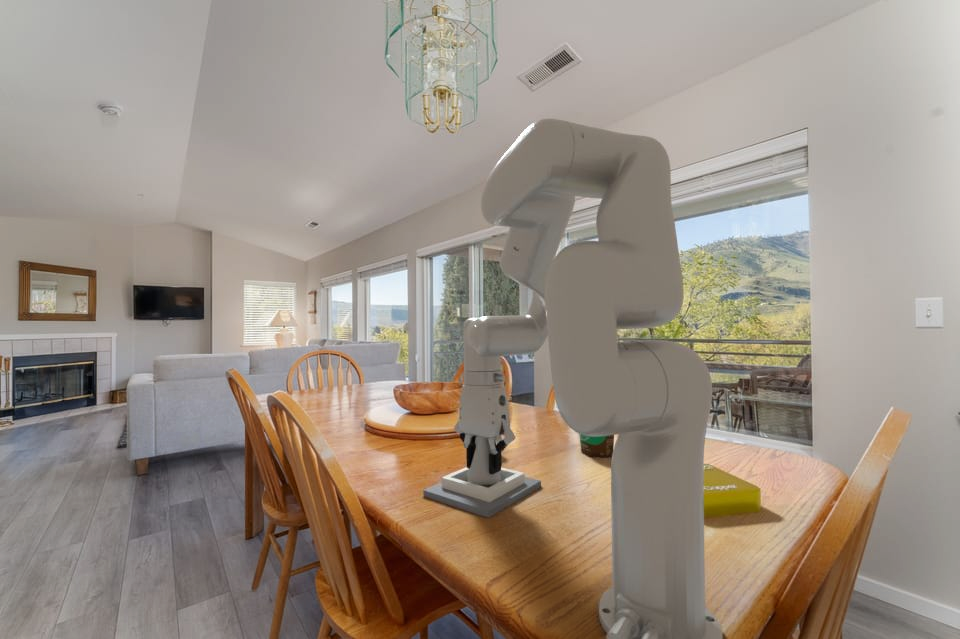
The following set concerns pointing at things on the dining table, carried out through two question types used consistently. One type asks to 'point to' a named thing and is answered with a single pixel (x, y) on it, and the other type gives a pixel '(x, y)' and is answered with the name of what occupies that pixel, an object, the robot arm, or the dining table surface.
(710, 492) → the element tile
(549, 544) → the dining table surface
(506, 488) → the collar board
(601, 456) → the food container
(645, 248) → the robot arm
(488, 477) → the flask
